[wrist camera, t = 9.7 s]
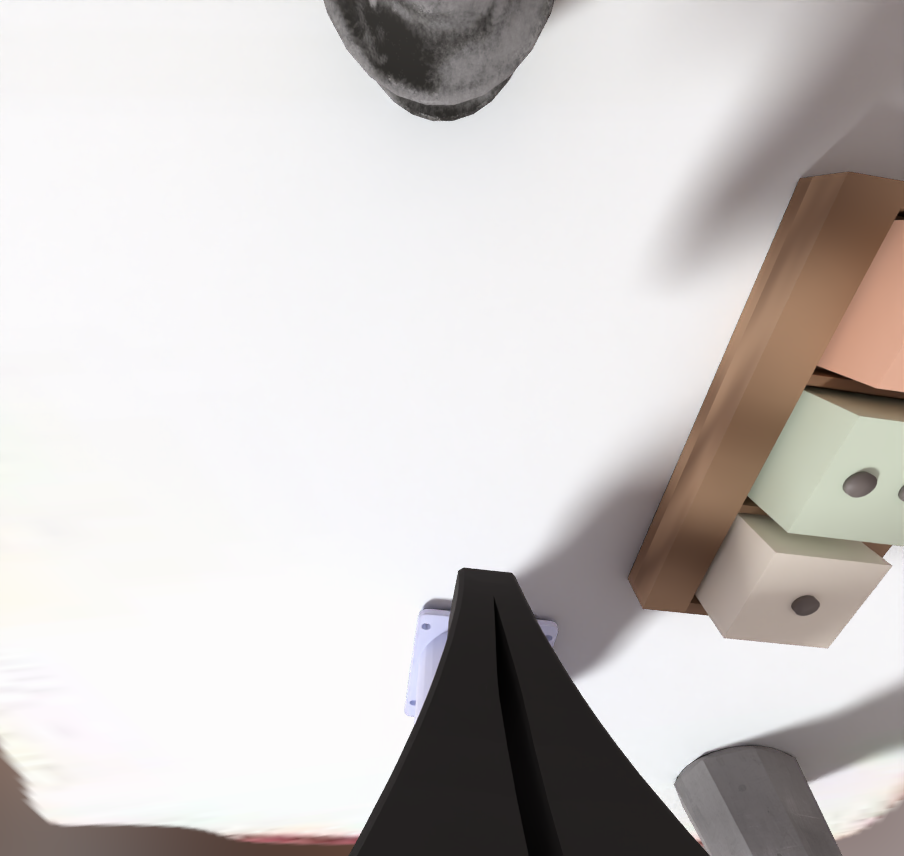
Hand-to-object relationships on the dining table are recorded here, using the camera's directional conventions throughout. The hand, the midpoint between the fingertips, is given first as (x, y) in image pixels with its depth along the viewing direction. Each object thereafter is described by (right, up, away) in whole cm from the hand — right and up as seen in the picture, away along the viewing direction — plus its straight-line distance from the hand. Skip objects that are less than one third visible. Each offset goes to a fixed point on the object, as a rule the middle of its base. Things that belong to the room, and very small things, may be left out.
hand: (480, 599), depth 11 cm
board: (+15, +4, +9) cm, 18 cm away
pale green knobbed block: (+15, +4, +8) cm, 17 cm away
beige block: (+14, -2, +10) cm, 18 cm away
